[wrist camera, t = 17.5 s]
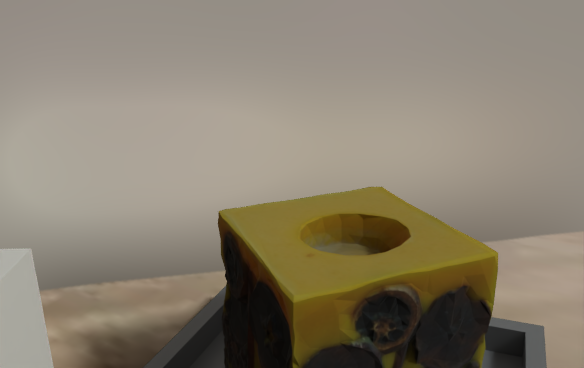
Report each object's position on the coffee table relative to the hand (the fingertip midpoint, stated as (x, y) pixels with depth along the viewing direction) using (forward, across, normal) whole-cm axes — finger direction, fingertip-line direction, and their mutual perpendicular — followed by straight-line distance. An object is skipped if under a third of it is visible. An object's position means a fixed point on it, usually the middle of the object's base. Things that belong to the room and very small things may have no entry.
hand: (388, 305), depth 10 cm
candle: (+14, +1, -15) cm, 21 cm away
